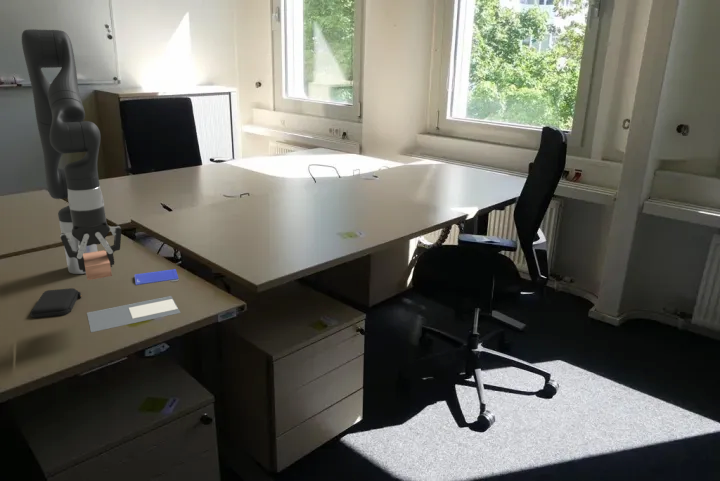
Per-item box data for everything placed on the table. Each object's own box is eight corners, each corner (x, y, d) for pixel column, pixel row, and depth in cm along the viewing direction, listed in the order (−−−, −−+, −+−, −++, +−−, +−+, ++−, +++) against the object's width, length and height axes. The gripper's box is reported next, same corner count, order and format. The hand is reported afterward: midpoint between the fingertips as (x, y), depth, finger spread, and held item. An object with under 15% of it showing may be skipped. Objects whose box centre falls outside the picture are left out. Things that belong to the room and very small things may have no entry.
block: (84, 266, 138) (82, 253, 137) (107, 262, 141) (105, 250, 140) (87, 280, 130) (85, 267, 129) (112, 275, 133) (109, 263, 132)
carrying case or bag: (74, 317, 143) (85, 294, 156) (72, 307, 141) (83, 285, 155) (29, 322, 140) (44, 298, 153) (27, 312, 139) (42, 288, 152)
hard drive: (135, 283, 160) (178, 277, 165) (134, 273, 167) (175, 268, 172) (136, 288, 161) (179, 282, 165) (134, 278, 168) (176, 272, 172)
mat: (87, 314, 143) (86, 312, 143) (171, 297, 154) (171, 295, 154) (91, 334, 134) (90, 331, 134) (180, 314, 144) (180, 312, 144)
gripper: (116, 197, 136) (125, 258, 142) (52, 204, 129) (64, 268, 135) (120, 205, 130) (129, 268, 136) (53, 213, 123) (66, 279, 129)
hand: (97, 268), depth 135 cm, fingers closed on block, 5 cm apart
